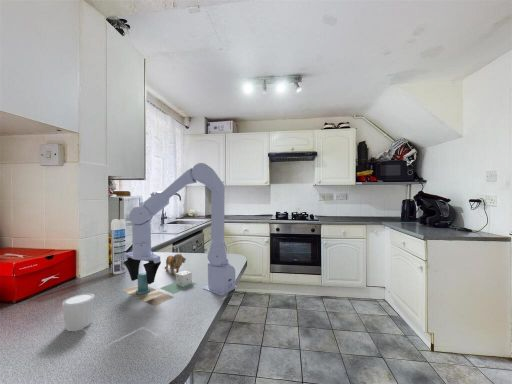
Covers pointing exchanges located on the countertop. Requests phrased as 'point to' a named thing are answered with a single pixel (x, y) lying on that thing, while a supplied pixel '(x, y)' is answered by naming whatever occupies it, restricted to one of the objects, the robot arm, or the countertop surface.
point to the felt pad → (176, 287)
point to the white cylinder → (78, 311)
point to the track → (149, 295)
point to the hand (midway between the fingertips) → (142, 281)
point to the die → (183, 278)
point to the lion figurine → (174, 263)
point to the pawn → (142, 284)
